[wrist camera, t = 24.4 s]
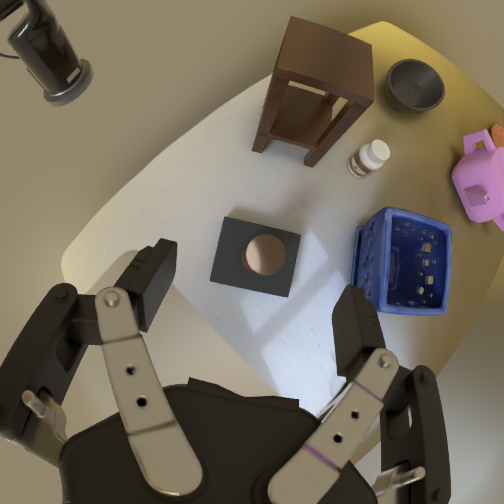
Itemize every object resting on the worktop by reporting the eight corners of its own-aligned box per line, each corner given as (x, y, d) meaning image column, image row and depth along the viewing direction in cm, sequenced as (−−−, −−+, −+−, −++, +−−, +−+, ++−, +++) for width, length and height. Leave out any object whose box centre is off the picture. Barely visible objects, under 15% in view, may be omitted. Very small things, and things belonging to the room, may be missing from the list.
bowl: (438, 103, 47) (453, 92, 41) (399, 135, 44) (417, 122, 38) (406, 66, 47) (418, 53, 41) (359, 89, 44) (373, 72, 38)
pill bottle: (342, 162, 42) (363, 144, 35) (357, 150, 43) (379, 131, 35) (358, 183, 42) (382, 168, 35) (373, 170, 43) (397, 154, 35)
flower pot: (408, 233, 43) (454, 223, 31) (402, 308, 42) (448, 316, 30) (345, 219, 42) (386, 203, 30) (336, 304, 40) (377, 315, 29)
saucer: (516, 177, 51) (523, 175, 48) (498, 175, 49) (505, 173, 46) (501, 131, 51) (507, 128, 49) (480, 123, 50) (486, 119, 47)
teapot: (443, 213, 44) (498, 198, 29) (441, 138, 46) (484, 112, 31) (488, 238, 46) (535, 231, 31) (486, 171, 48) (526, 156, 33)
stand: (251, 151, 41) (276, 66, 21) (264, 102, 41) (290, 15, 22) (312, 167, 41) (374, 101, 22) (320, 118, 42) (371, 44, 23)
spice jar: (237, 270, 37) (241, 270, 29) (244, 238, 37) (250, 229, 30) (268, 277, 38) (281, 278, 30) (275, 245, 38) (289, 239, 30)
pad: (210, 280, 39) (209, 280, 37) (224, 219, 39) (224, 216, 37) (284, 296, 40) (288, 297, 38) (297, 236, 40) (301, 234, 38)
